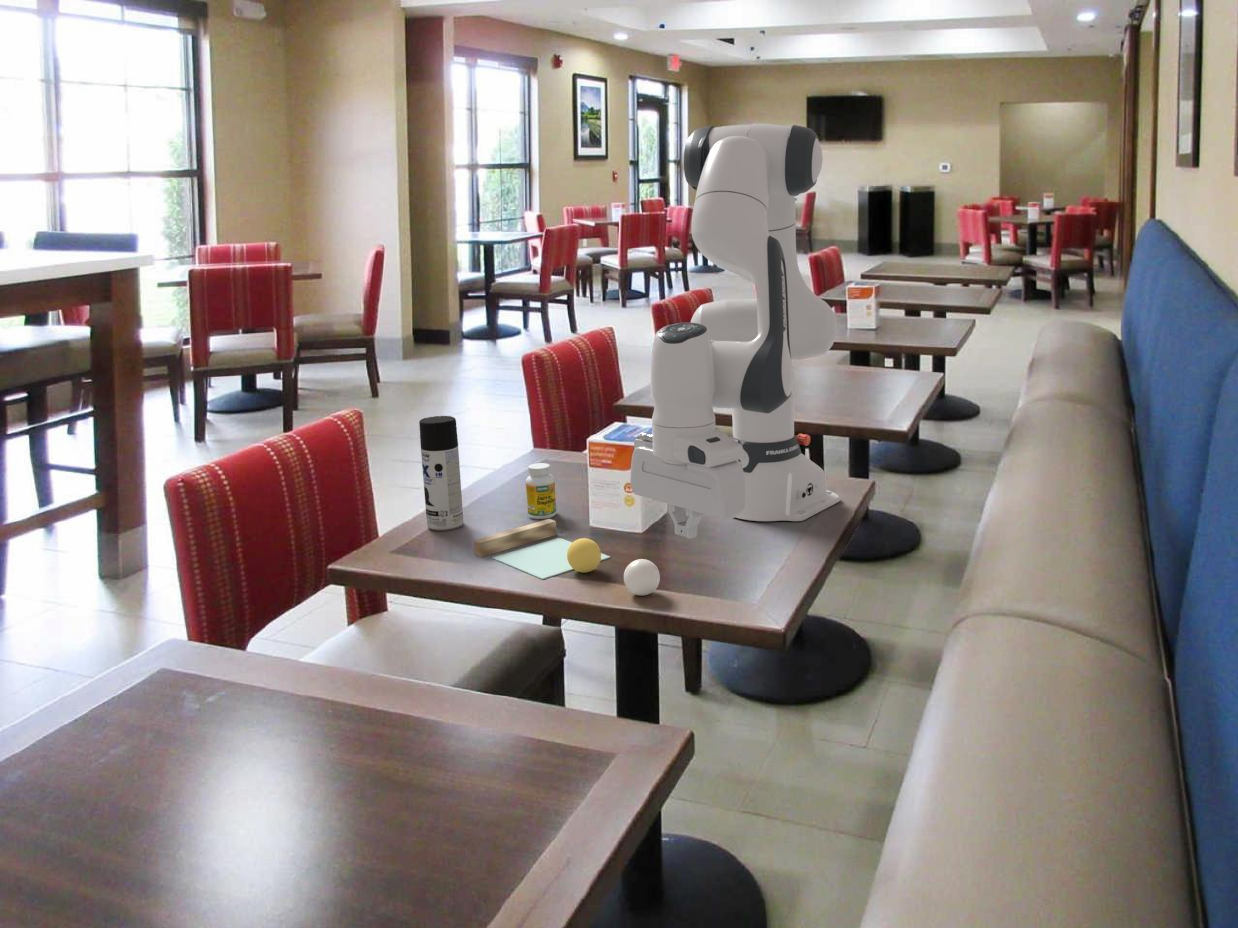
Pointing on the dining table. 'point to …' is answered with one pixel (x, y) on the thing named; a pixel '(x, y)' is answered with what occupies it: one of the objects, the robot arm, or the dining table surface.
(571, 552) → the ball
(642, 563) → the ball
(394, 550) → the dining table surface
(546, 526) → the rail
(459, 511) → the spray can
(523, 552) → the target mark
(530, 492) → the supplement bottle
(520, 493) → the dining table surface
